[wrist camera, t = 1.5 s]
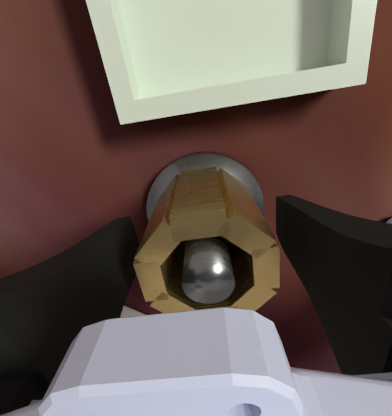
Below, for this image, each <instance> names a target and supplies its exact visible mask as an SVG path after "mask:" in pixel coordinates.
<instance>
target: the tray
mask: <svg viewBox="0 0 392 416" xmlns="http://www.w3.org/2000/svg"><path fill="white" fill-rule="evenodd" d="M86 3H87V7H88V10H89V14H90V17H91V21H92V25H93V28H94V32H95V35H96V39H97V43H98V46H99V50H100V53H101V57H102V61H103V64H104V68H105V71H106V75H107V79H108V82H109V86H110V89H111V93H112V97H113V100H114V104H115V107H116V111H117V114H118V118H119V122H120V125H122V124H128V123H134V122H140V121H146V120H152V119H158V118H164V117H170V116H176V115H182V114H188V113H193V112H199V111H205V110H211V109H217V108H223V107H229V106H235V105H241V104H247V103H253V102H259V101H265V100H271V99H277V98H283V97H289V96H295V95H301V94H307V93H313V92H319V91H325V90H331V89H337V88H343V87H349V86H355V85H361V84H366V79H367V71H368V64H369V57H370V49H371V42H372V35H373V27H374V20H375V12H376V5H377V0H86Z"/></svg>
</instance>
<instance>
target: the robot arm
mask: <svg viewBox="0 0 392 416" xmlns="http://www.w3.org/2000/svg"><path fill="white" fill-rule="evenodd" d="M276 233H277V236H278V239H279V241H280V244H281V246H282V249H283V251H284V252H285V254H286V256H287V258H288V259H289V261H290V263H291V264H292V266H293V268H294V269H295V271H296V273H297V274H298V276H299V278H300V280H301V281H302V283H303V285H304V286H305V288H306V290H307V292H308V294H309V296H310V298H311V300H312V303H313V305H314V307H315V309H316V311H317V314H318V316H319V318H320V321H321V323H322V325H323V328H324V330H325V332H326V335H327V337H328V340H329V342H330V345H331V347H332V350H333V352H334V355H335V357H336V360H337V362H338V365H339V367H340V370H341V373H342V374H338V373H331V372H324V371H316V370H309V369H302V368H294V367H290V365H289V362H288V359H287V356H286V354H285V351H284V348H283V345H282V342H281V339H280V336H279V334H278V332H277V330H276V327H275V325H274V323H273V322H272V321H270V320H269V319H267V318H265V317H263V316H262V315H260V314H258V313H256V312H255V311H253V310H250V309H240V308H228V307H220V308H211V309H201V310H191V311H182V312H172V313H162V314H153V315H143V316H133V317H123V318H120V316H121V313H122V310H123V306H124V303H125V301H126V298H127V295H128V292H129V290H130V287H131V284H132V281H133V279H134V276H135V273H136V272H135V269H134V266H133V263H134V260H135V259H134V257H135V254H136V252H137V249H138V247H139V243H138V240H137V237H136V233H135V230H134V227H133V224H132V221H131V217H124V218H118V219H116V220H114V221H112V222H110V223H109V224H107V225H106V226H104V227H102V228H101V229H99V230H98V231H96V232H95V233H93V234H92V235H90V236H89V237H87V238H85V239H84V240H82V241H80V242H79V243H77V244H76V245H74V246H72V247H71V248H69V249H67V250H65V251H64V252H62V253H60V254H58V255H56V256H54V257H52V258H50V259H48V260H46V261H44V262H42V263H39V264H37V265H35V266H32V267H30V268H28V269H25V270H23V271H21V272H18V273H16V274H13V275H10V276H8V277H5V278H2V279H0V416H392V218H391V219H389V220H388V221H387V222H386V223H383V222H378V221H373V220H368V219H364V218H359V217H355V216H351V215H348V214H344V213H341V212H338V211H334V210H331V209H328V208H325V207H323V206H320V205H317V204H314V203H312V202H309V201H306V200H304V199H301V198H298V197H295V196H292V195H285V196H278V197H276Z"/></svg>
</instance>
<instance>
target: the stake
mask: <svg viewBox="0 0 392 416" xmlns="http://www.w3.org/2000/svg"><path fill="white" fill-rule="evenodd" d="M214 166H216V168H217V172H218V170H219V169H220V168H222V169H224V170H225V171H226V172H228V173H229V174H230V175H232V176H233V177H235V178H236V179H237V180H239V181H240V182H241V183H243V184H244V185H245V186H247V187H248V188H249V190H250V192H251V194H252V196H253V198H254V200H255V201H256V203H257V205H258V207H259V209H260V211H261V213H262V215H264V198H263V194H262V191H261V188H260V186H259V184H258V182H257V181H256V179H255V178H254V176H253V175H252V173H251V172H250V171H249V170H248V169H247V168H246V167H245V166H244V165H243V164H242V163H240V162H239V161H237V160H236V159H233V158H231V157H229V156H227V155H224V154H220V153H215V152H196V153H191V154H187V155H185V156H182V157H180V158H178V159H176V160H174V161H173V162H171V163H170V164H168V165H167V166H166V167H165V168H164V169H163V170H162V171H161V172H160V173H159V175H158V176H157V177H156V179H155V181H154V183H153V184H152V186H151V189H150V191H149V194H148V198H147V217H148V221H149V220H150V217H151V215H152V213H153V210H154V208H155V205H156V203H157V200H158V199H159V197H160V196H161V195H162V193H163V192H164V190H165V189H166V188H167V186H168V185H169V184H170V182H171V181H172V179H173V178H174V177H175V175H176V174H177V175H179V176H180V172H181V171H187V170H194V169H201V168H207V167H214ZM234 287H235V279H234V274H233V269H232V263H231V258H230V253H229V248H228V242H227V239H226V238H224V237H223V236H216V237H208V238H200V239H192V240H186V244H185V255H184V265H183V275H182V288H183V291H184V292H185V294H186V295H187V296H188V297H189V298H191V299H192V300H194V301H196V302H199V303H205V304H212V303H217V302H220V301H222V300H224V299H226V298H227V297H229V296H230V294H231V293H232V292H233V290H234Z"/></svg>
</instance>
